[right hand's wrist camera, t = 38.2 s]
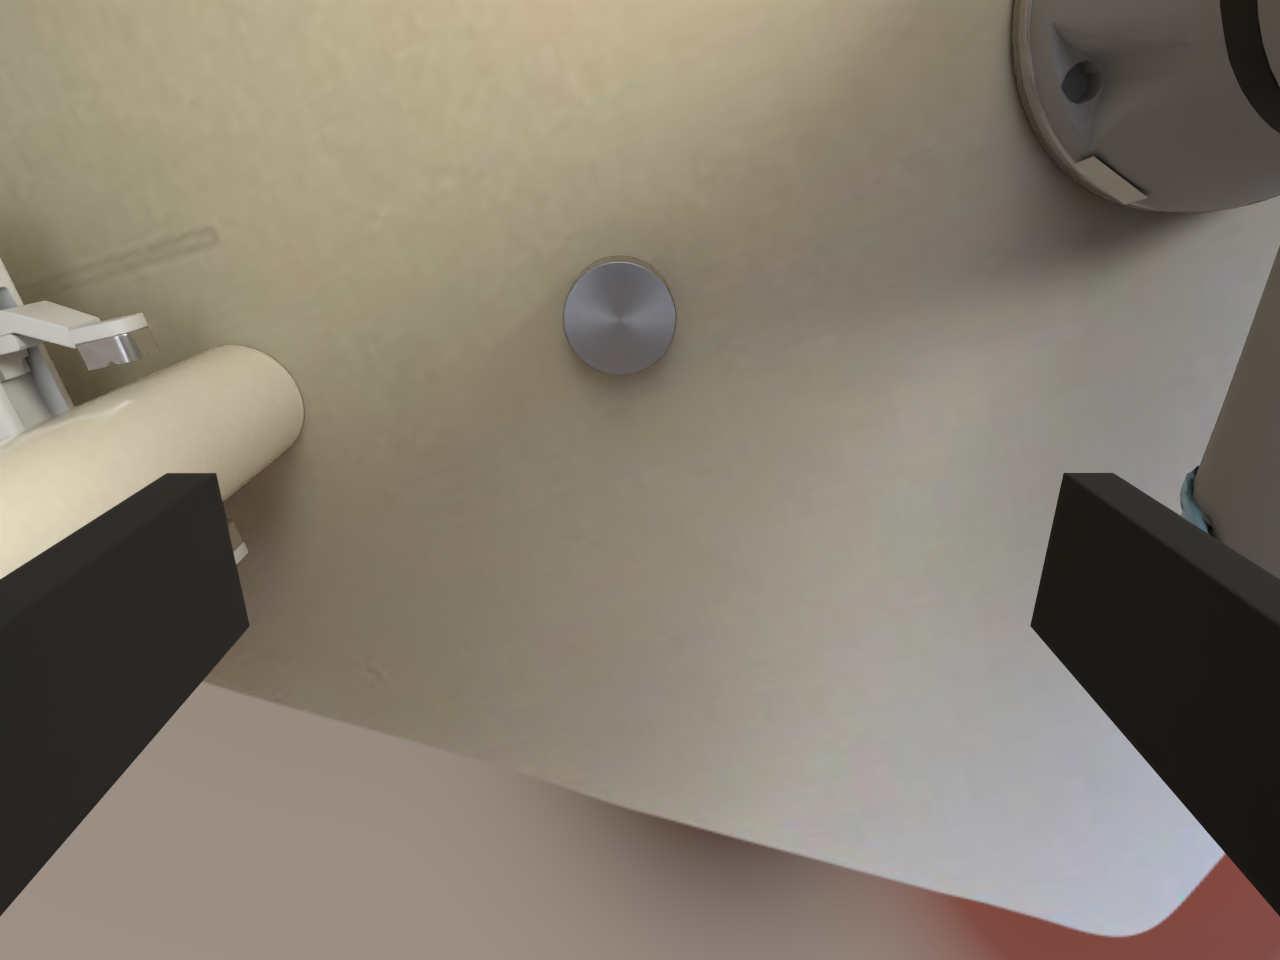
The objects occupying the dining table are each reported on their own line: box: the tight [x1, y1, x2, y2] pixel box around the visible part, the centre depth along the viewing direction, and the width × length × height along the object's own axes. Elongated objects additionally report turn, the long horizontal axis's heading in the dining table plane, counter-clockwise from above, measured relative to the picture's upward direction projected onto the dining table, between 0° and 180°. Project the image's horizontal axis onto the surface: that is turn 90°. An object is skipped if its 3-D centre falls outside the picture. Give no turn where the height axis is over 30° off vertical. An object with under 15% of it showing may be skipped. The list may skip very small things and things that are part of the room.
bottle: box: [0, 345, 304, 579], centre depth 23 cm, size 5×5×24 cm
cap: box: [563, 256, 676, 375], centre depth 32 cm, size 4×4×2 cm
